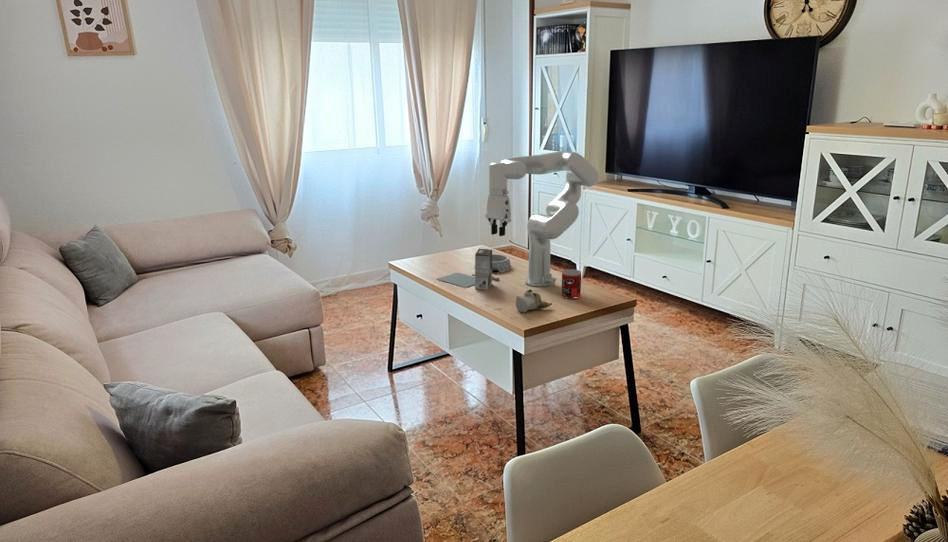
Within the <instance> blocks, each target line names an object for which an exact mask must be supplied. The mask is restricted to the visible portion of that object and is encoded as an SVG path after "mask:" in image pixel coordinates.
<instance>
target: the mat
mask: <svg viewBox="0 0 948 542" xmlns="http://www.w3.org/2000/svg"><path fill="white" fill-rule="evenodd" d="M436 280H437V281H441V282H445V283H448V284H451V285H455V286H457V287H460V288H464V289H466V288H469V287H471V286H472V287H473V286H475V276H472V275H469V274H467V273H466V274H465V273H462V272H455V273H451V274H447V275H444V276H442V277H438V278H436Z"/></svg>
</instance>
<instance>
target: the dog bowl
mask: <svg viewBox="0 0 948 542" xmlns="http://www.w3.org/2000/svg"><path fill="white" fill-rule="evenodd" d="M474 269H475V266H474ZM510 270H512V265H511V261H510V257H509V256H507V255H504V254H500V253H492V271H498V272H499V273H505V272H508V271H510Z"/></svg>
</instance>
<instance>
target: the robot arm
mask: <svg viewBox="0 0 948 542" xmlns="http://www.w3.org/2000/svg"><path fill="white" fill-rule="evenodd" d="M488 167H489V168H488V170H489V171H488V172H489V173H488V175H489V176H488V180H489V181H488V184H489V185H488V187H489V189H488V192H489V193H488V196H487V202H486V215H485V218H486V219H487V221H488V223H489V225H490V226H491V227H490V228H491V229H490V231H491V232H490V233H491V234H490V235H496V234H498V233H499V234H498V235H499V237H503V236H505V235H506V227H507V225H508V224H509V223H510V222H512V218H511V215H512V213H511V211H512V210H511V209H512V208H511V200H510V195H508V194H509V190H508V180H522V179H523V178H524V177H525V176H526V175H527V174H528V175H538V176H539V175H546V174H551V173H552V174H553V173H555V172H556V173H557V172H563V171H566V175H565V178H566V179H565V180H566V181H565V185H564V189H562V190H561V191H560V193H559V194H558V195H557V196H555V197H554V198H553V199H552V200H551V201H550V202H549V203H548V205H546V208H545V214H543V213H535V214H532V215H531V216H530V217H528V220H527V226H526V227H527V233H528V234H527V235H528V244H529V245H528V277H526V278H525V280H524V281H525V284H526V285H528V286H531V287H538V288H539V287H548V286H551V285H553V284H555V283H556V281H557V278H556V277H553V274H552V273H551V240H556V239H557V238H560V237H561V235H562V234H563V233H565V231H567V230H568V229H569V228H570V227H571V226H572V225H573V224H574V223H575V222H576V220H578V217H579V214H580V213H579V211H580V210H579V207H578V205H577V203H579V201H580V199H581V195H582V186H583V187H589V188H590V187H593V186H595V185H596V184H597V183H598V182H599V178H600V176H599V171H598V170H597V168H595V167H594V165H592V163H591V162H589V161H588V160H587V159H586V158H585V157H584V156H583V155H581V154H580V153H578V152H575V151H569V150H560V151H553V152H549V153H548V152H547V153H541V154H535V155H526V156H524V155H523V156H517V157H510V158H505V159H502V160H501V161H494V162H491V163H489V165H488ZM498 220H499V227H498V224H497V221H498Z"/></svg>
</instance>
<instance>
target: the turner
mask: <svg viewBox="0 0 948 542" xmlns="http://www.w3.org/2000/svg"><path fill="white" fill-rule="evenodd" d="M471 276H473V277H475V272H474V273H472V274H471ZM492 281H496V282H498V281H500V277H499V276H494V275H492Z"/></svg>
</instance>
